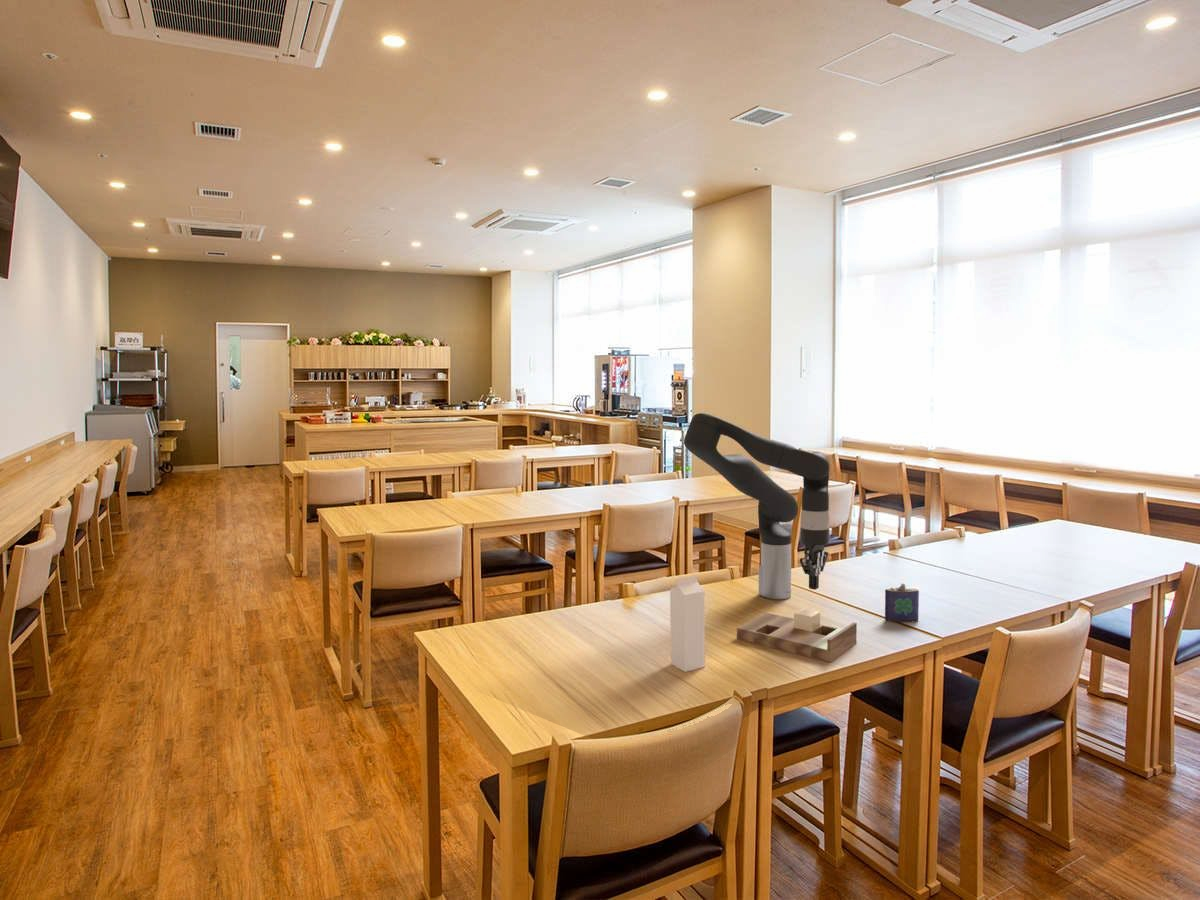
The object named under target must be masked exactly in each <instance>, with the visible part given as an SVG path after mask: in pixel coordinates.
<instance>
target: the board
mask: <svg viewBox="0 0 1200 900" xmlns="http://www.w3.org/2000/svg"><path fill="white" fill-rule="evenodd" d="M857 624H858V623H857V622H854V621H853V622H852V623H850V624H849V625H848V626H846V627H845V628H839V627H838V628H837V627H834V626H828V625H824V624H821V623H820V627H819V628H817V629H815V630H814V631H812V632H811V631H806V630H802V629H797V628H794V617H793V618H792V617H788V616H784V615H779V614H773V613H769V612H765V613H762V614H761V615H758V616H757V617H755V618H753V619H751V620H748V622H745V623H744V624H741V625H740V626H738V627H736V639H737V640H740V641H743V640H744V642H747V641H748V642H749V643H751V642H752V643H753V644H756V645H759V644H760V645H761V646H764V647H767V648H772V649H775V650H779V651H783V652H788V653H791V654H795V653H796V654H795V655H799V654H800V656H803V655H804V656H803V657H807V656H808V658H811V657H813V658H812V659H815V658H817V659H816V660H819V659H820V661H823V660H825V661H824V662H827V661H828V663H832V661H835V660H836V659H837V658H839V657H840V656H841V655H842V653H843V654H844V653H845V652H847V651H848V650H850V649H851V648H853V645H854V646H855V645H856V644H857V626H858V625H857ZM850 647H851V648H850ZM846 650H847V651H846ZM835 658H836V659H835Z"/></svg>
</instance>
